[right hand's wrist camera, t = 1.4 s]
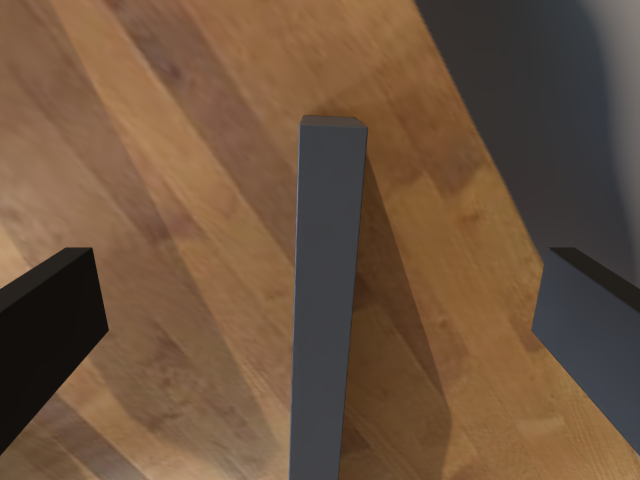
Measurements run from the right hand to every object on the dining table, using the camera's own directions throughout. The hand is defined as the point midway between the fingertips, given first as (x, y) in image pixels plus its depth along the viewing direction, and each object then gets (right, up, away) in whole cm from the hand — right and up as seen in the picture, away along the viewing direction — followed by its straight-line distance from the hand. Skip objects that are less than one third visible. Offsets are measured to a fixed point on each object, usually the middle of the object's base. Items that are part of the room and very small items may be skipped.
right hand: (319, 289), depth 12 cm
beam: (0, -12, +32) cm, 34 cm away
